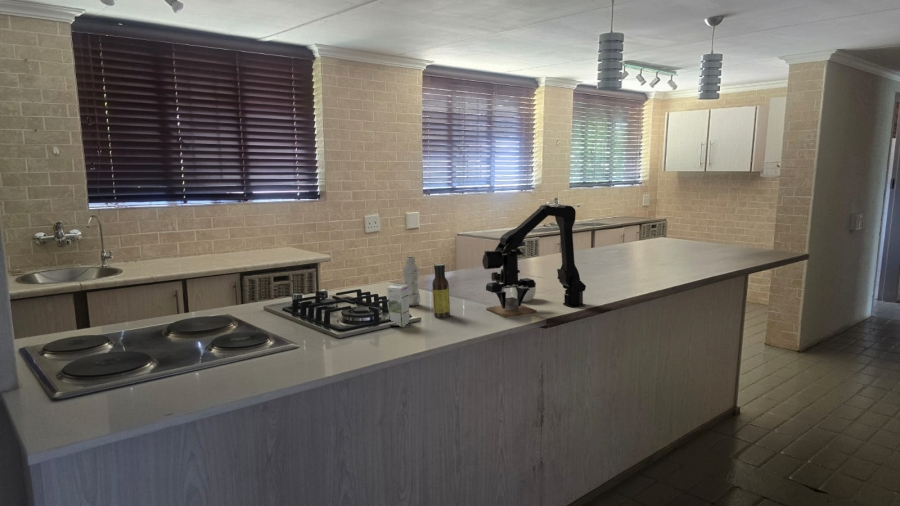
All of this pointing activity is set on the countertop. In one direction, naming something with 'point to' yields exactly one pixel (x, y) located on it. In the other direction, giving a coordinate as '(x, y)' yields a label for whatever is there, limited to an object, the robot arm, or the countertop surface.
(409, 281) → the plastic bottle
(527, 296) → the lidded jar
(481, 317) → the countertop surface
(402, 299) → the syrup box
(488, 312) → the mat
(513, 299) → the lid
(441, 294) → the sauce bottle
